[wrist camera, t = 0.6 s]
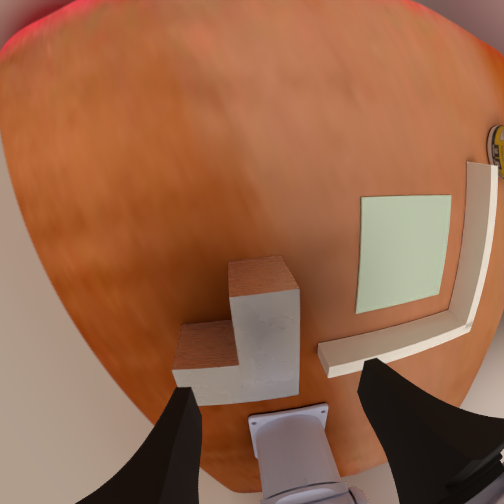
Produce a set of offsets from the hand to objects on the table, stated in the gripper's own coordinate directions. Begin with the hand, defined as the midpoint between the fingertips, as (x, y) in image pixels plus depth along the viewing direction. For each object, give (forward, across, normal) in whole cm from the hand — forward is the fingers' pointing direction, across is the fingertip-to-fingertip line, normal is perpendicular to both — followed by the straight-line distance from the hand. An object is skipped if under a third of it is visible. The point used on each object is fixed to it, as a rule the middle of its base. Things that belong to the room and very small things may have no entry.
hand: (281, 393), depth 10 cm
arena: (+9, -12, -2) cm, 15 cm away
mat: (+9, -12, -2) cm, 15 cm away
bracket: (+9, +2, +2) cm, 10 cm away
